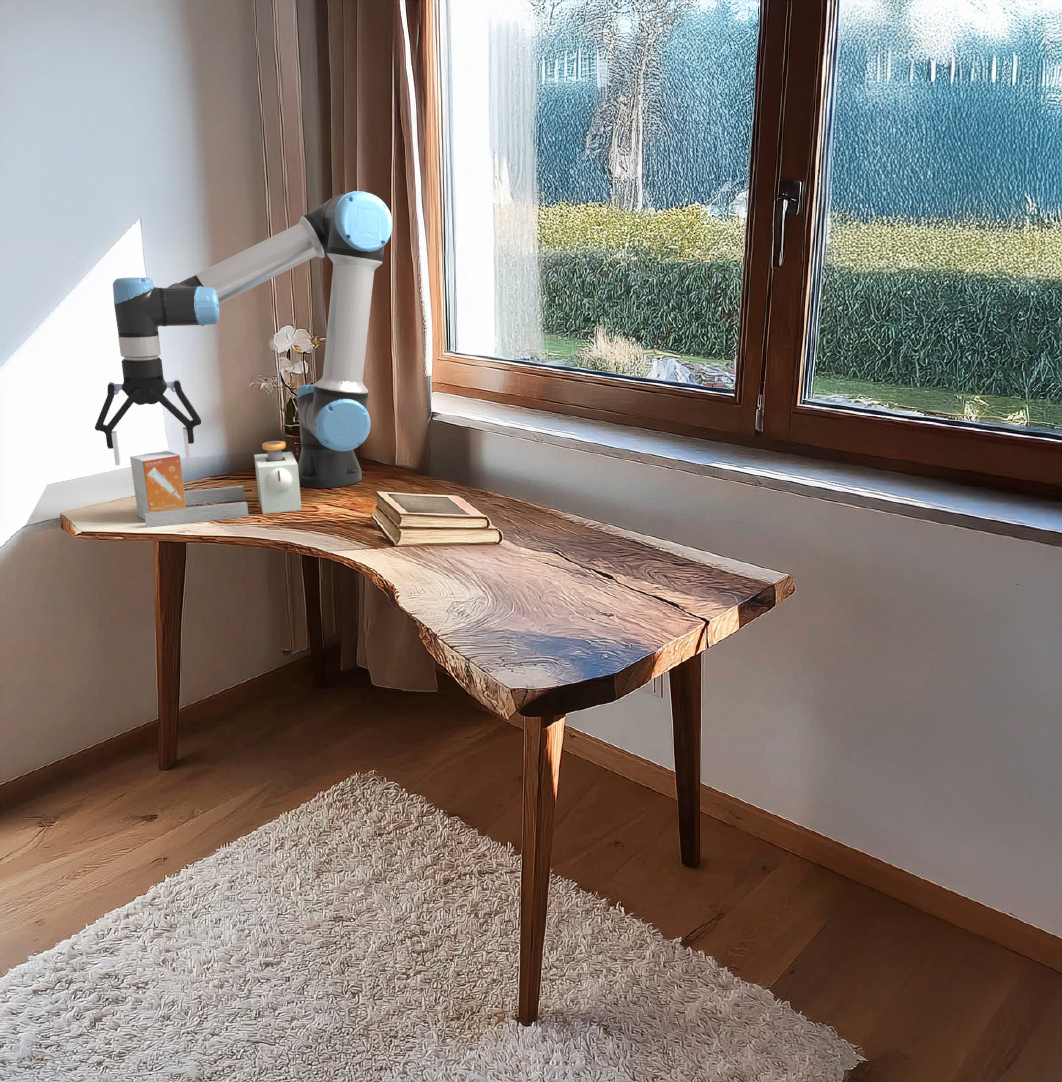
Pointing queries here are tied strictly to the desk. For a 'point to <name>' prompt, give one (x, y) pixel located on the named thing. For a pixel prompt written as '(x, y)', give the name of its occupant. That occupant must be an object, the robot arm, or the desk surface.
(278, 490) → the gauge cabinet
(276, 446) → the button
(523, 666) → the desk surface
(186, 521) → the guide rails
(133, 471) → the small box
